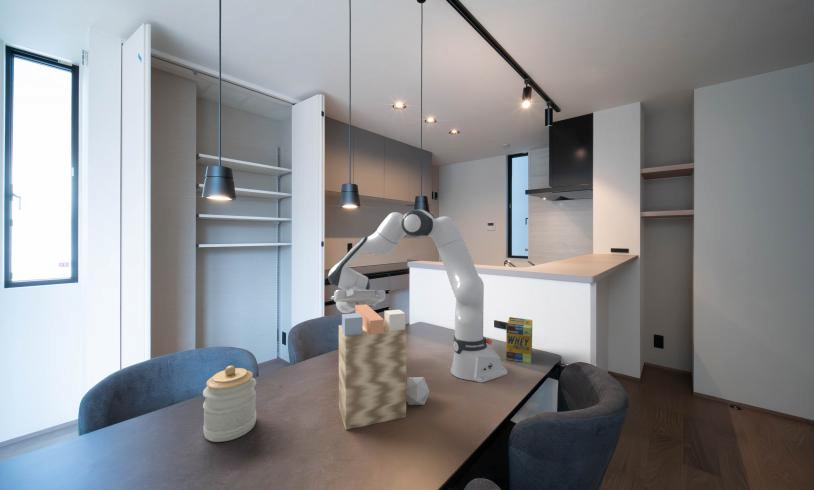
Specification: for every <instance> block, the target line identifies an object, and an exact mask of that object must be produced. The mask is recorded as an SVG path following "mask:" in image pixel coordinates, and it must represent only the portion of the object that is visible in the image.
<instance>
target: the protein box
mask: <svg viewBox="0 0 814 490" xmlns="http://www.w3.org/2000/svg"><path fill="white" fill-rule="evenodd" d="M505 334H506V335H505V336H506V337H505V340H506V341H505V346H506V348H505V360H506V361H509V362H517V363H524V364H529V365H531V364H532V354H533V352H532V351H533V319H529V318H520V317H512V316H511V317H509V318H508V320H507V324H506V333H505Z"/></svg>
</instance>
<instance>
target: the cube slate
mask: <svg viewBox="0 0 814 490" xmlns="http://www.w3.org/2000/svg"><path fill="white" fill-rule="evenodd" d="M341 325H342V332H343V334H344V336H353V335H362V334H363V317H362V316H361V315H360V314H359V313H343V314H341Z"/></svg>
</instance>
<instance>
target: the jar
mask: <svg viewBox="0 0 814 490" xmlns="http://www.w3.org/2000/svg"><path fill="white" fill-rule="evenodd" d="M253 375H254V374H253V372H252V371H250V370H247V369H246V368H242V367H235V366H234V365H228V366H226V368H225V369H224V370H221V371H218V372H217V373H215V374H214V375H213V376H211V377H210V378H209V379H207V381H206V383H205V385H206V387H205V388H204V389H203V391H202V395H203V397H204V399H205V400H204V402H203V404H202V408H203V434H204V437H205V439H206V440H207V441H209V442H213V443H221V442H228V441H232V440H236V439H238V438H240V437H242V436H245V435H246V434H247V433H249V432H250V431H251V430H252V429H253V428H254V427H255V425H256V421H257V409H256V407H257V406H256V405H257V401H256V399H257V398H256V396H257V391H256V390H255V387H256V385H257V380H256V379H255V378H254V377H253Z"/></svg>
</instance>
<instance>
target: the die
mask: <svg viewBox="0 0 814 490" xmlns="http://www.w3.org/2000/svg"><path fill="white" fill-rule="evenodd" d="M429 394H430V390H429V387H428V383H427V381H426V379H425V377H424V376H423V377H421V376H420V377H419V376H415V377H413V376H411V377H410V376H408V377H407V379H406V403H407V404H408V406H424V405H425V404H426V402H427V400H428V398H429V397H428V396H429Z"/></svg>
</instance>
